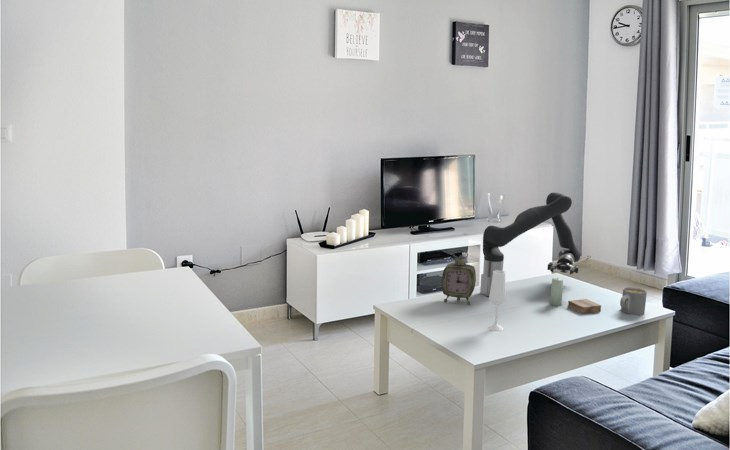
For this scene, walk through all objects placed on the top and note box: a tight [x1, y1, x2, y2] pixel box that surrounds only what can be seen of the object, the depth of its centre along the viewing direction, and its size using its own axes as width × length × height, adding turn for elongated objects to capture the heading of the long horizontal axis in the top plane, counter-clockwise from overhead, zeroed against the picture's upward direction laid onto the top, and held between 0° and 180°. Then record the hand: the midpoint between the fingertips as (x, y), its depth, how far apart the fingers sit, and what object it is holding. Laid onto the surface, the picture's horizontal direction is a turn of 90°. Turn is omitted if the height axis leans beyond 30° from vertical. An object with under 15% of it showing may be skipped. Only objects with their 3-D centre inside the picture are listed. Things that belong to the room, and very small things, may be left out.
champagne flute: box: [486, 270, 507, 332], centre depth 271 cm, size 7×7×24 cm
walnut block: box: [567, 298, 602, 315], centre depth 301 cm, size 10×10×3 cm
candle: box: [549, 277, 564, 307], centre depth 306 cm, size 5×5×13 cm
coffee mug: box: [619, 286, 648, 316], centre depth 299 cm, size 13×10×10 cm
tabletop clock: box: [441, 248, 477, 306], centre depth 305 cm, size 14×9×25 cm, turn 73°
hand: (561, 271), depth 315 cm, fingers open, 8 cm apart
